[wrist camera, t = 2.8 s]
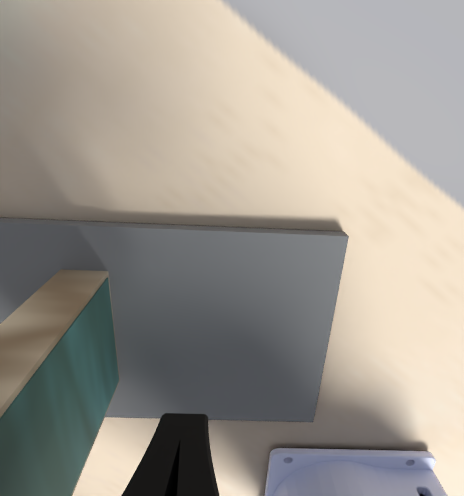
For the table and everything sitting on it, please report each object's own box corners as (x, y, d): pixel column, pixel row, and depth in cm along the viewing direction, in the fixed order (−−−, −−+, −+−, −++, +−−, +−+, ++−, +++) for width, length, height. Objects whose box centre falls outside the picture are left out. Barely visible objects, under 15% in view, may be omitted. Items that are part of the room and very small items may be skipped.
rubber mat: (343, 231, 14) (348, 236, 13) (310, 412, 18) (313, 422, 17) (-187, 209, 13) (-205, 214, 13) (-101, 402, 17) (-112, 411, 17)
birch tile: (109, 271, 14) (-29, 448, 6) (120, 380, 16) (28, 606, 9) (60, 269, 14) (-136, 446, 6) (78, 379, 16) (-51, 605, 9)
